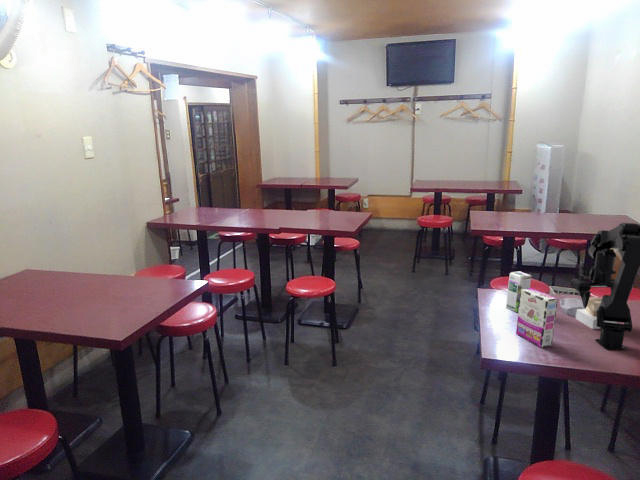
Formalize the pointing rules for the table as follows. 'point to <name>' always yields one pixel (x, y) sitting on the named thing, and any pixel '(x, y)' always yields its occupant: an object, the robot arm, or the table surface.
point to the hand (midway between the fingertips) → (597, 307)
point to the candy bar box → (536, 317)
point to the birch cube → (593, 305)
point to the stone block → (571, 305)
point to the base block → (588, 319)
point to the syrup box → (516, 289)
